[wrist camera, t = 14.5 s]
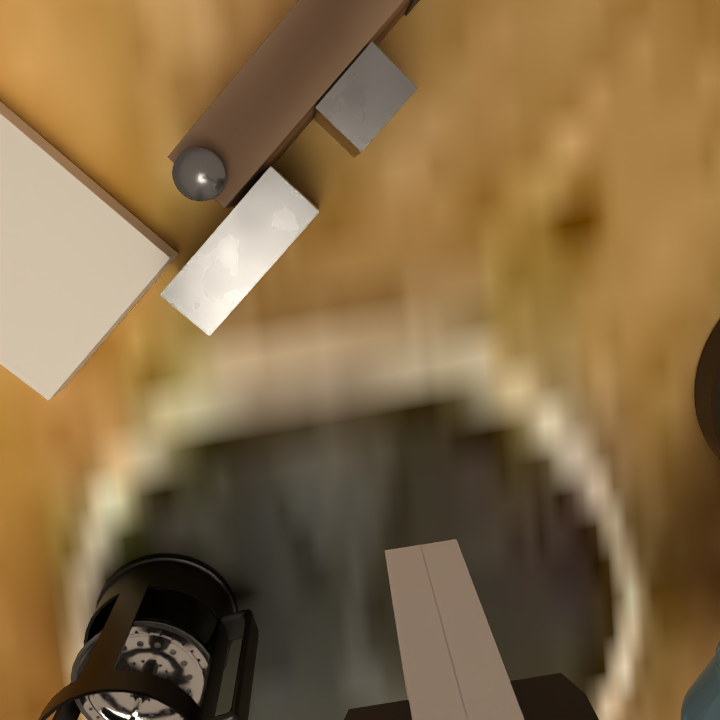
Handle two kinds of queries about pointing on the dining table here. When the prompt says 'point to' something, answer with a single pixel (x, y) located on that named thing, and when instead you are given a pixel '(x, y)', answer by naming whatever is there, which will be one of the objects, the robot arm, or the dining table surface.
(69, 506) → the dining table surface
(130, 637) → the french press
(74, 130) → the dining table surface
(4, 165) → the table-top board
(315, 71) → the bar
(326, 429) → the dining table surface
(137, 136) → the dining table surface
